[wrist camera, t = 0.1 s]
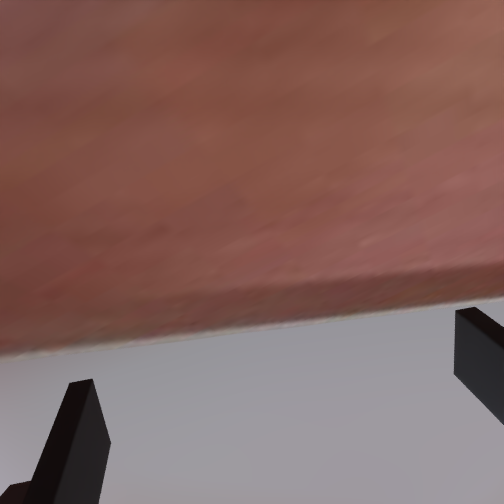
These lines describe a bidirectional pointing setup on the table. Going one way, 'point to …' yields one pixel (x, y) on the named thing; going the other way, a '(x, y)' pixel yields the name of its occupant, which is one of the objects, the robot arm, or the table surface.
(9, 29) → the table surface
